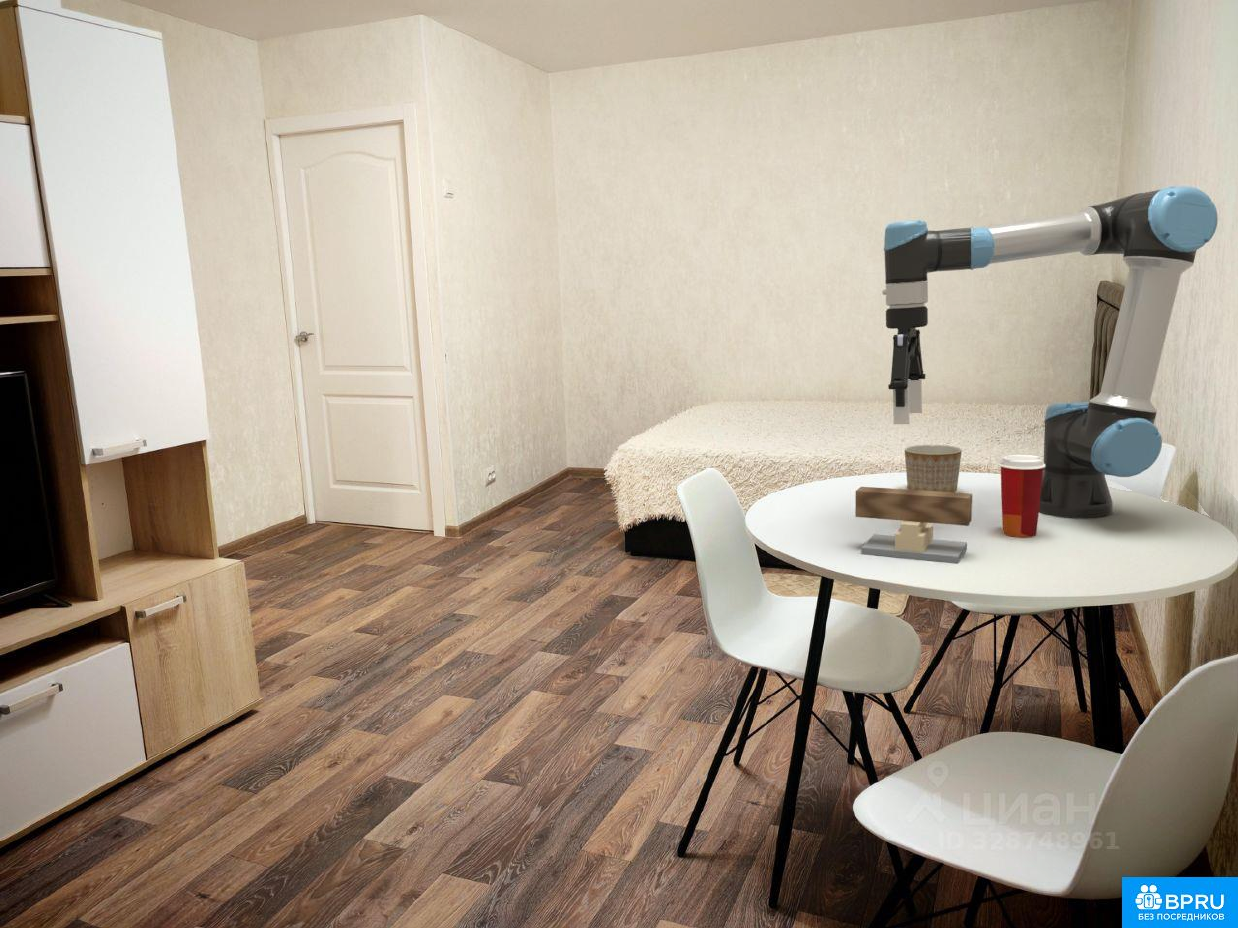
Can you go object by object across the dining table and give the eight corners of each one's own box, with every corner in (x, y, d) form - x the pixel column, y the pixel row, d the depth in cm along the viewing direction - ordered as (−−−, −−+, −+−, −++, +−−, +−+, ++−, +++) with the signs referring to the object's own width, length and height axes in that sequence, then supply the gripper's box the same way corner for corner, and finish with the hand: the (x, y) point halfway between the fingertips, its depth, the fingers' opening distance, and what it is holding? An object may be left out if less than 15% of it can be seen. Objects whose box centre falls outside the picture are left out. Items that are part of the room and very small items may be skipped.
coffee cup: (1040, 528, 178) (1043, 454, 175) (1044, 540, 171) (1048, 462, 168) (994, 527, 181) (996, 453, 178) (996, 537, 173) (999, 461, 171)
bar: (971, 520, 163) (972, 493, 162) (968, 525, 160) (968, 498, 159) (860, 512, 173) (860, 486, 172) (855, 516, 169) (855, 491, 168)
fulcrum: (966, 548, 167) (967, 516, 166) (957, 563, 159) (958, 529, 158) (874, 539, 176) (874, 509, 175) (861, 553, 167) (861, 521, 166)
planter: (921, 484, 222) (921, 443, 220) (970, 491, 212) (971, 447, 211) (893, 494, 213) (894, 450, 211) (943, 501, 204) (944, 456, 202)
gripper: (898, 304, 181) (900, 408, 185) (871, 310, 160) (874, 428, 164) (937, 302, 178) (938, 408, 182) (915, 308, 156) (917, 429, 160)
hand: (908, 418), depth 173 cm, fingers open, 13 cm apart
